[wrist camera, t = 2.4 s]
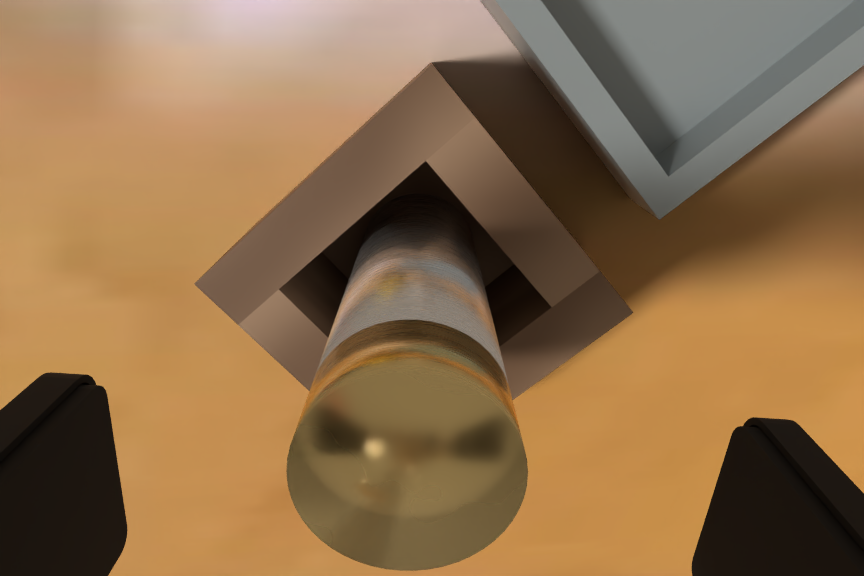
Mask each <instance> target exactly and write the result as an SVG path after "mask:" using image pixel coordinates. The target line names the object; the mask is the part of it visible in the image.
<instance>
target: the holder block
mask: <svg viewBox="0 0 864 576" xmlns="http://www.w3.org/2000/svg"><path fill="white" fill-rule="evenodd" d="M407 194H429V195H433V196H437V197H439V198H442V199H444V200H446V201H447V202H449V203H451V204H452V205H453V206H454V207H456V208H457V209H458V210H459V211H460V212H461V214H462V215H463V216H464V218H465V219H466V221H467V223H468V225H469V227H470V230H471V233H472V237H473V241H474V245H475V249H476V254H477V258H478V262H479V266H480V270H481V274H482V278H483V282H484V286H485V290H486V294H487V298H488V303H489V307H490V311H491V315H492V319H493V323H494V327H495V331H496V335H497V339H498V343H499V348H500V352H501V356H502V360H503V364H504V368H505V372H506V376H507V380H508V384H509V388H510V392H511V397H512V400H513V399H515V398H516V397H518V396H519V395H520V394H522V393H523V392H524V391H526V390H527V389H529V388H530V387H531V386H533V385H534V384H535V383H537V382H538V381H540V380H541V379H542V378H544V377H545V376H547V375H548V374H549V373H551V372H552V371H553V370H555V369H556V368H558V367H559V366H560V365H562V364H563V363H565V362H566V361H567V360H569V359H570V358H571V357H573V356H574V355H576V354H577V353H578V352H580V351H581V350H582V349H584V348H585V347H587V346H588V345H589V344H591V343H592V342H594V341H595V340H596V339H598V338H599V337H600V336H602V335H603V334H605V333H606V332H607V331H609V330H610V329H612V328H613V327H614V326H616V325H617V324H618V323H620V322H621V321H623V320H624V319H625V318H627V317H628V316H629V315H631V314H632V313H633V312H632V311H631V309H630V308H629V307H628V306H627V304H626V303H625V302H624V300H623V299H622V298H621V297H620V295H619V294H618V293H617V292H616V290H615V289H614V288H613V287H612V285H611V284H610V283H609V282H608V280H607V279H606V278H605V277H604V275H603V274H602V273H601V272H600V270H599V269H598V268H597V267H596V265H595V264H594V263H593V262H592V260H591V259H590V258H589V257H588V255H587V254H586V253H585V252H584V250H583V249H582V248H581V247H580V245H579V244H578V243H577V242H576V241H575V239H574V238H573V237H572V236H571V234H570V233H569V232H568V231H567V229H566V228H565V227H564V226H563V224H562V223H561V222H560V221H559V220H558V218H557V217H556V216H555V215H554V213H553V212H552V211H551V210H550V208H549V207H548V206H547V205H546V203H545V202H544V201H543V200H542V199H541V197H540V196H539V195H538V194H537V192H536V191H535V190H534V189H533V187H532V186H531V185H530V184H529V182H528V181H527V180H526V179H525V178H524V176H523V175H522V174H521V173H520V171H519V170H518V169H517V168H516V166H515V165H514V164H513V163H512V161H511V160H510V159H509V158H508V157H507V155H506V154H505V153H504V152H503V150H502V149H501V148H500V147H499V145H498V144H497V143H496V142H495V140H494V139H493V138H492V137H491V136H490V134H489V133H488V132H487V131H486V129H485V128H484V127H483V126H482V124H481V123H480V122H479V121H478V119H477V118H476V117H475V116H474V115H473V113H472V112H471V111H470V110H469V108H468V107H467V106H466V105H465V103H464V102H463V101H462V100H461V98H460V97H459V96H458V95H457V94H456V92H455V91H454V90H453V89H452V87H451V86H450V85H449V84H448V82H447V81H446V80H445V79H444V77H443V76H442V75H441V74H440V73H439V71H438V70H437V69H436V68H435V66H434V65H433V64H432V63H430V64H429V65H428V66H427V67H426V68H424V69H423V70H422V71H421V72H420V73H419V74H418V75H417V76H416V77H415V78H414V79H413V80H411V81H410V82H409V83H408V84H407V85H406V86H405V87H404V88H403V89H402V90H401V91H400V92H398V93H397V94H396V95H395V96H394V97H393V98H392V99H391V100H390V101H389V102H388V103H386V104H385V105H384V106H383V107H382V108H381V109H380V110H379V111H378V112H377V113H376V114H375V115H373V116H372V117H371V118H370V119H369V120H368V121H367V122H366V123H365V124H364V125H363V126H362V127H360V128H359V129H358V130H357V131H356V132H355V133H354V134H353V135H352V136H351V137H350V138H349V139H347V140H346V141H345V142H344V143H343V144H342V145H341V146H340V147H339V148H338V149H337V150H335V151H334V152H333V153H332V154H331V155H330V156H329V157H328V158H327V159H326V160H325V161H324V162H322V163H321V164H320V165H319V166H318V167H317V168H316V169H315V170H314V171H313V172H312V173H311V174H309V175H308V176H307V177H306V178H305V179H304V180H303V181H302V182H301V183H300V184H299V185H298V186H296V187H295V188H294V189H293V190H292V191H291V192H290V193H289V194H288V195H287V196H286V197H284V198H283V199H282V200H281V201H280V202H279V203H278V204H277V205H276V206H275V207H274V208H273V209H271V210H270V211H269V212H268V213H267V214H266V215H265V216H264V217H263V218H262V219H261V220H260V221H258V222H257V223H256V224H255V225H254V226H253V227H252V228H251V229H250V230H249V231H248V232H247V233H246V234H245V235H244V236H243V237H242V238H241V239H240V240H239V241H238V242H237V243H235V244H234V245H233V246H232V247H231V248H230V249H229V250H228V251H227V252H226V253H225V254H224V255H223V256H222V257H221V258H220V259H219V260H218V261H217V262H216V263H215V264H214V265H213V266H212V267H211V268H210V269H209V270H208V271H207V272H206V273H205V274H204V275H203V276H202V277H201V278H200V279H199V280H198V281H197V282H196V283H195V285H196V286H197V287H198V288H199V289H200V290H201V291H202V292H203V293H204V294H205V295H207V296H208V297H209V298H210V299H211V300H212V301H213V302H214V303H215V304H216V305H217V306H218V307H219V308H221V309H222V310H223V311H224V312H225V313H226V314H227V315H228V316H229V317H230V318H231V319H232V320H233V321H235V322H236V323H237V324H238V325H239V326H240V327H241V328H242V329H243V330H244V331H245V332H246V333H247V334H249V335H250V336H251V337H252V338H253V339H254V340H255V341H256V342H257V343H258V344H259V345H260V346H261V347H263V348H264V349H265V350H266V351H267V352H268V353H269V354H270V355H271V356H272V357H273V358H274V359H275V360H277V361H278V362H279V363H280V364H281V365H282V366H283V367H284V368H285V369H286V370H287V371H288V372H289V373H291V374H292V375H293V376H294V377H295V378H296V379H297V380H298V381H299V382H300V383H301V384H302V385H303V386H304V387H306V388H307V389H308V390H309V391H310V389H311V386H312V383H313V380H314V377H315V374H316V372H317V369H318V366H319V363H320V360H321V357H322V355H323V352H324V349H325V346H326V343H327V340H328V338H329V335H330V332H331V329H332V326H333V323H334V321H335V318H336V315H337V312H338V309H339V306H340V304H341V301H342V298H343V295H344V292H345V289H346V287H347V284H348V281H349V278H350V275H351V272H352V270H353V267H354V264H355V261H356V258H357V255H358V253H359V250H360V247H361V244H362V241H363V238H364V236H365V233H366V230H367V227H368V225H369V223H370V221H371V219H372V218H373V216H374V215H375V214H376V212H377V211H378V210H379V209H380V208H381V207H382V206H384V205H385V204H386V203H388V202H389V201H391V200H393V199H395V198H398V197H400V196H404V195H407Z"/></svg>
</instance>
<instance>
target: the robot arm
mask: <svg viewBox="0 0 864 576" xmlns="http://www.w3.org/2000/svg"><path fill="white" fill-rule="evenodd" d="M126 538H127V522H126V516H125V509H124V503H123V496H122V490H121V483H120V476H119V470H118V463H117V457H116V450H115V444H114V437H113V431H112V424H111V417H110V411H109V404H108V398H107V393H106V390H105V389H104V387H102V386H97V385H96V383H95V381H94V379H93V378H92V377H91V376H89V375H82V374H66V373H45V374H43V375H41V376H40V377H38V378H37V379H36V380H35V381H34V382H33V383H32V384H30V385H29V386H28V387H27V388H26V389H25V390H23V391H22V392H21V393H20V394H19V395H18V396H16V397H15V398H14V399H13V400H12V401H11V402H9V403H8V404H7V405H6V406H5V407H4V408H2V409H1V410H0V576H108V575H109V573H110V571H111V570H112V568H113V566H114V565H115V563H116V561H117V560H118V558H119V556H120V555H121V553H122V551H123V548H124V545H125V542H126ZM692 576H864V493H863V492H862V491H861V490H860V489H859V488H858V487H857V486H856V485H855V484H854V483H853V482H852V481H851V480H850V479H849V477H848V476H847V475H846V474H845V473H844V472H843V471H842V470H841V469H840V468H839V467H838V466H837V465H836V464H835V463H834V462H833V461H832V459H831V458H830V457H829V456H828V455H827V454H826V453H825V452H824V451H823V450H822V449H821V448H820V447H819V446H818V445H817V444H816V443H815V441H814V440H813V439H812V438H811V437H810V436H809V435H808V434H807V433H806V432H805V431H804V430H803V429H802V428H801V427H800V426H799V425H798V424H797V423H796V422H794V421H792V420H785V419H770V418H754V417H753V418H750V419H748V420H747V421H746V422H745V423H744V426H740V427H737V428H736V429H735V430H734V431H733V433H732V436H731V439H730V442H729V445H728V448H727V452H726V455H725V458H724V461H723V464H722V468H721V471H720V474H719V477H718V480H717V483H716V487H715V490H714V493H713V496H712V499H711V503H710V506H709V509H708V512H707V515H706V518H705V522H704V525H703V528H702V531H701V534H700V537H699V541H698V544H697V547H696V550H695V553H694V557H693V561H692Z"/></svg>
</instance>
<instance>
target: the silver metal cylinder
mask: <svg viewBox="0 0 864 576" xmlns="http://www.w3.org/2000/svg"><path fill="white" fill-rule="evenodd" d="M527 477H528V467H527V458H526V454H525V450H524V446H523V441H522V437H521V433H520V429H519V425H518V421H517V417H516V413H515V409H514V405H513V401H512V397H511V392H510V388H509V384H508V380H507V376H506V372H505V368H504V364H503V360H502V356H501V352H500V348H499V343H498V339H497V335H496V331H495V327H494V323H493V319H492V315H491V311H490V307H489V303H488V298H487V294H486V290H485V286H484V282H483V278H482V274H481V270H480V266H479V262H478V258H477V254H476V249H475V245H474V241H473V237H472V233H471V230H470V227H469V225H468V223H467V221H466V219H465V218H464V216H463V215H462V214H461V212H460V211H459V210H458V209H457V208H456V207H454V206H453V205H452V204H451V203H449V202H447V201H446V200H444V199H442V198H439V197H437V196H433V195H429V194H407V195H404V196H400V197H398V198H395V199H393V200H391V201H389V202H388V203H386V204H385V205H384V206H382V207H381V208H380V209H379V210H378V211H377V212H376V214H375V215H374V216H373V218H372V219H371V221H370V223H369V225H368V227H367V230H366V233H365V236H364V238H363V241H362V244H361V247H360V250H359V253H358V255H357V258H356V261H355V264H354V267H353V270H352V272H351V275H350V278H349V281H348V284H347V287H346V289H345V292H344V295H343V298H342V301H341V304H340V306H339V309H338V312H337V315H336V318H335V321H334V323H333V326H332V329H331V332H330V335H329V338H328V340H327V343H326V346H325V349H324V352H323V355H322V357H321V360H320V363H319V366H318V369H317V372H316V374H315V377H314V380H313V383H312V386H311V389H310V391H309V394H308V397H307V400H306V403H305V406H304V408H303V411H302V414H301V417H300V420H299V423H298V425H297V428H296V431H295V434H294V437H293V440H292V442H291V445H290V449H289V454H288V458H287V482H288V487H289V491H290V495H291V498H292V501H293V503H294V505H295V508H296V510H297V511H298V513H299V515H300V516H301V518H302V520H303V521H304V522H305V524H306V525H307V526H308V527H309V529H310V530H311V531H312V532H313V533H314V534H315V535H316V536H317V537H318V538H319V539H320V540H321V541H323V542H324V543H325V544H327V545H328V546H330V547H331V548H332V549H334V550H336V551H337V552H339V553H341V554H342V555H344V556H346V557H349V558H351V559H353V560H355V561H358V562H361V563H364V564H367V565H370V566H374V567H379V568H384V569H391V570H426V569H433V568H438V567H443V566H446V565H450V564H453V563H456V562H459V561H461V560H463V559H466V558H468V557H470V556H472V555H474V554H476V553H477V552H479V551H481V550H483V549H484V548H485V547H487V546H488V545H489V544H491V543H492V542H493V541H495V540H496V539H497V538H498V537H499V536H500V535H501V534H502V533H503V532H504V531H505V530H506V528H507V527H508V526H509V525H510V523H511V522H512V521H513V519H514V517H515V516H516V514H517V512H518V510H519V508H520V506H521V503H522V501H523V499H524V495H525V491H526V487H527Z"/></svg>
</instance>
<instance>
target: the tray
mask: <svg viewBox="0 0 864 576" xmlns="http://www.w3.org/2000/svg"><path fill="white" fill-rule="evenodd" d="M480 1H481V2H482V3H483V5H484V6H485V7H486V9H487V10H488V11H489V13H490V14H491V15H492V17H493V18H494V19H495V21H496V22H497V23H498V25H499V26H500V27H501V29H502V30H503V31H504V32H505V34H506V35H507V36H508V38H509V39H510V40H511V42H512V43H513V44H514V46H515V47H516V48H517V50H518V51H519V52H520V54H521V55H522V56H523V58H524V59H525V60H526V62H527V63H528V64H529V66H530V67H531V68H532V70H533V71H534V72H535V73H536V75H537V76H538V77H539V79H540V80H541V81H542V83H543V84H544V85H545V87H546V88H547V89H548V91H549V92H550V93H551V95H552V96H553V97H554V99H555V100H556V101H557V103H558V104H559V105H560V107H561V108H562V109H563V111H564V112H565V113H566V114H567V116H568V117H569V118H570V120H571V121H572V122H573V124H574V125H575V126H576V128H577V129H578V130H579V132H580V133H581V134H582V136H583V137H584V138H585V140H586V141H587V142H588V144H589V145H590V146H591V148H592V149H593V150H594V152H595V153H596V154H597V155H598V157H599V158H600V159H601V161H602V162H603V163H604V165H605V166H606V167H607V169H608V170H609V171H610V173H611V174H612V175H613V177H614V178H615V179H616V181H617V182H618V183H619V185H620V186H621V187H622V189H623V190H624V191H625V193H626V194H627V195H628V196H629V198H630V199H631V200H632V201H634V202H635V203H636V204H638V205H639V206H641V207H642V208H643V209H645V210H646V211H648V212H649V213H651V214H652V215H653V216H655V217H656V218H658V219H659V220H660V219H661V218H662V217H664V216H665V215H666V214H668V213H669V212H670V211H672V210H673V209H674V208H676V207H677V206H678V205H680V204H681V203H682V202H684V201H685V200H686V199H688V198H689V197H690V196H691V195H693V194H694V193H695V192H697V191H698V190H699V189H701V188H702V187H703V186H705V185H706V184H707V183H709V182H710V181H711V180H713V179H714V178H715V177H717V176H718V175H719V174H721V173H722V172H723V171H725V170H726V169H727V168H728V167H730V166H731V165H732V164H734V163H735V162H736V161H738V160H739V159H740V158H742V157H743V156H744V155H746V154H747V153H748V152H750V151H751V150H752V149H754V148H755V147H756V146H758V145H759V144H760V143H762V142H763V141H764V140H766V139H767V138H768V137H769V136H771V135H772V134H773V133H775V132H776V131H777V130H779V129H780V128H781V127H783V126H784V125H785V124H787V123H788V122H789V121H791V120H792V119H793V118H795V117H796V116H797V115H799V114H800V113H801V112H803V111H804V110H805V109H806V108H808V107H809V106H810V105H812V104H813V103H814V102H816V101H817V100H818V99H820V98H821V97H822V96H824V95H825V94H826V93H828V92H829V91H830V90H832V89H833V88H834V87H836V86H837V85H838V84H840V83H841V82H842V81H843V80H845V79H846V78H847V77H849V76H850V75H851V74H853V73H854V72H855V71H857V70H858V69H859V68H861V67H862V66H863V65H864V0H480Z"/></svg>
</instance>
